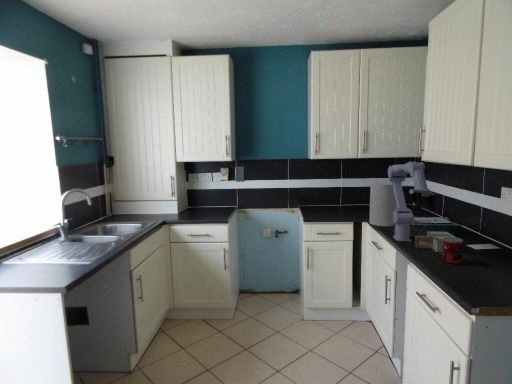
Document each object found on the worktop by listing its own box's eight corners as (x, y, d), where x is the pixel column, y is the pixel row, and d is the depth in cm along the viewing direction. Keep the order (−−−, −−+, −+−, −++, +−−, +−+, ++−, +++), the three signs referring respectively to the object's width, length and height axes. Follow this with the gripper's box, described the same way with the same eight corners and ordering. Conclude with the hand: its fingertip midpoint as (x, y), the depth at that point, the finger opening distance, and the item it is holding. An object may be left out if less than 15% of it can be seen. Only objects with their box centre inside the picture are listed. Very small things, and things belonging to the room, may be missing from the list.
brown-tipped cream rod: (414, 246, 174) (415, 235, 173) (442, 247, 172) (443, 236, 171) (416, 248, 172) (416, 236, 171) (444, 248, 170) (445, 237, 169)
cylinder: (398, 226, 217) (400, 184, 213) (371, 225, 221) (372, 184, 217) (393, 220, 234) (394, 181, 230) (367, 219, 238) (368, 181, 234)
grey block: (425, 244, 179) (425, 231, 178) (446, 244, 178) (447, 231, 176) (435, 253, 165) (436, 238, 164) (458, 253, 164) (459, 239, 163)
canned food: (443, 257, 159) (444, 235, 157) (462, 261, 154) (464, 238, 152) (440, 262, 153) (441, 239, 151) (460, 266, 148) (461, 242, 146)
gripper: (415, 178, 160) (421, 204, 154) (437, 183, 165) (443, 208, 159) (404, 184, 166) (409, 209, 160) (425, 188, 171) (431, 213, 165)
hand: (425, 209), depth 160 cm, fingers open, 7 cm apart
